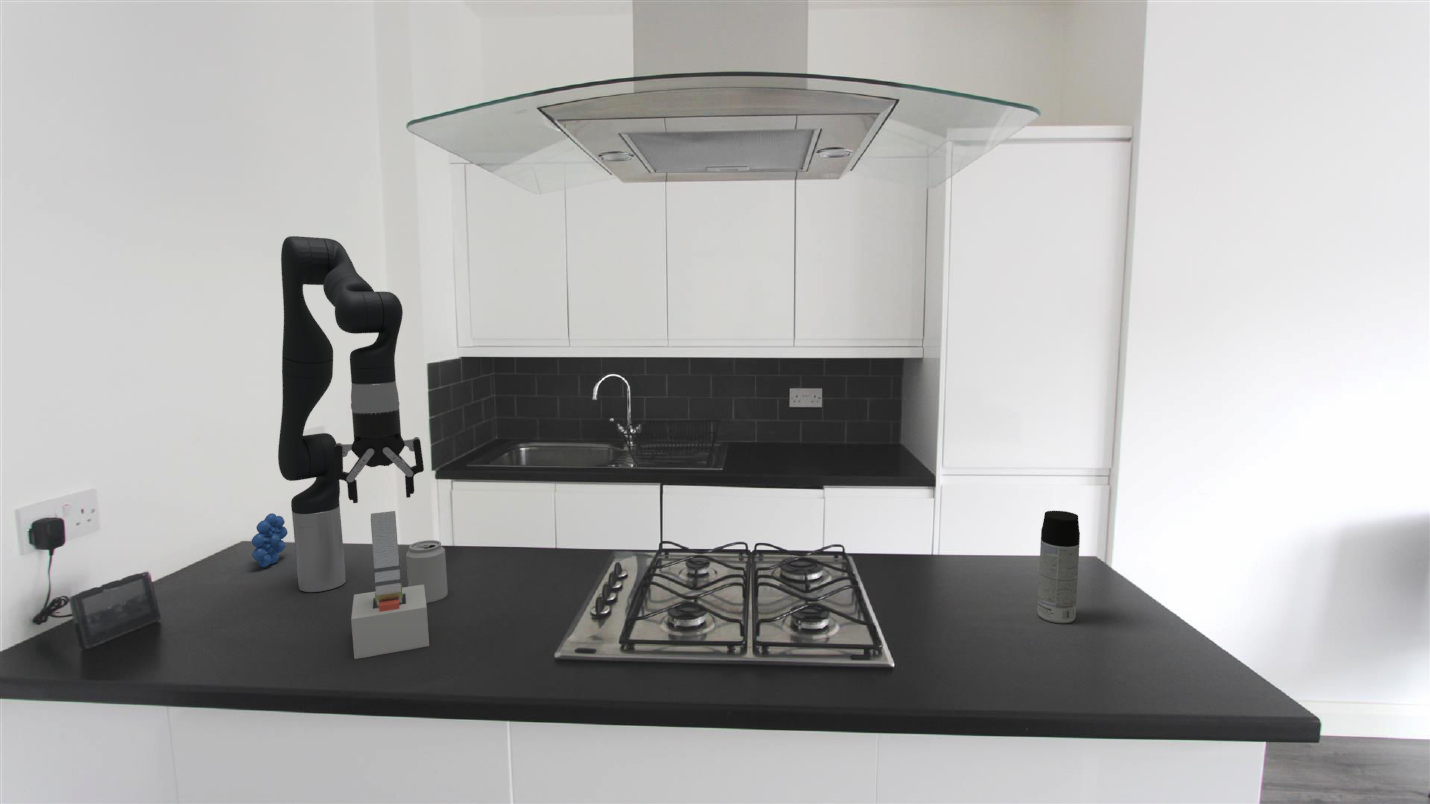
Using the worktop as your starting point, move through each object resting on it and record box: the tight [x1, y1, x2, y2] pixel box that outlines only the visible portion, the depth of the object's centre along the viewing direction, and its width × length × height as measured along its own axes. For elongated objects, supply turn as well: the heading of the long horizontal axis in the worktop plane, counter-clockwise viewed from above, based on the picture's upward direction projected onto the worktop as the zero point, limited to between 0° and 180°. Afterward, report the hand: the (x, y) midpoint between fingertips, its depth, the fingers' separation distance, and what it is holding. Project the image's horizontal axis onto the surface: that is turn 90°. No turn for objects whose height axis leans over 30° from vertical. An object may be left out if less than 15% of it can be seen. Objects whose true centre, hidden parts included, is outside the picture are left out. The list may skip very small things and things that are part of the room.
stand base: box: [350, 585, 430, 660], centre depth 139 cm, size 14×14×9 cm
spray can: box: [1037, 510, 1081, 624], centre depth 145 cm, size 7×7×20 cm
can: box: [405, 539, 449, 604], centre depth 158 cm, size 8×8×12 cm
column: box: [370, 510, 403, 608], centre depth 137 cm, size 4×4×16 cm
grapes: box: [251, 513, 289, 568], centre depth 182 cm, size 12×7×12 cm, turn 177°
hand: (382, 499), depth 135 cm, fingers open, 8 cm apart
